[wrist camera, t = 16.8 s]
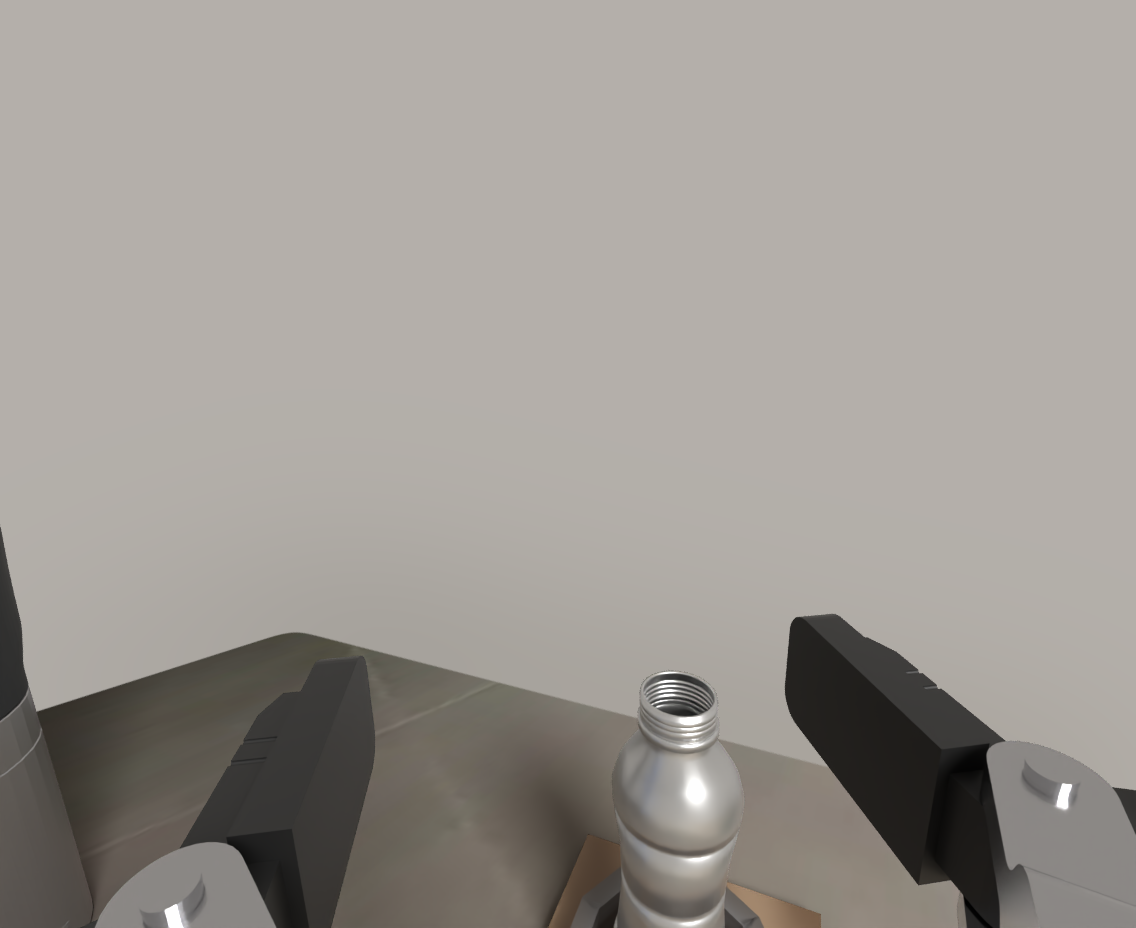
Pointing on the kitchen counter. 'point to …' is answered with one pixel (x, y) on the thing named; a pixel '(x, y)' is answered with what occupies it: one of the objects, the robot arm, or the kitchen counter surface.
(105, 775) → the kitchen counter surface
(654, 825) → the silver aluminium bottle
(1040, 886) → the robot arm
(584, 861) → the bottle dock
